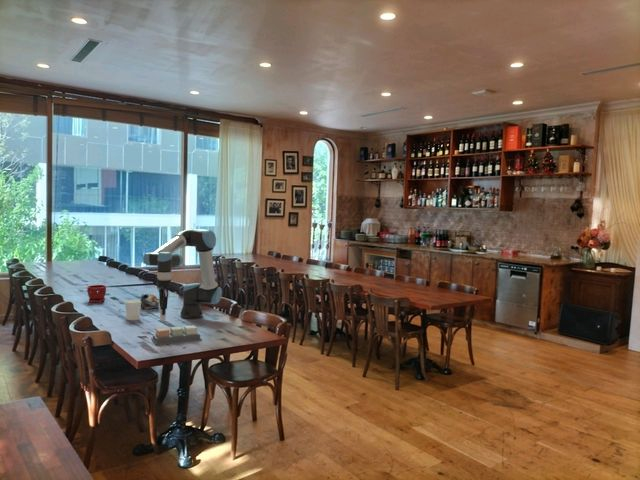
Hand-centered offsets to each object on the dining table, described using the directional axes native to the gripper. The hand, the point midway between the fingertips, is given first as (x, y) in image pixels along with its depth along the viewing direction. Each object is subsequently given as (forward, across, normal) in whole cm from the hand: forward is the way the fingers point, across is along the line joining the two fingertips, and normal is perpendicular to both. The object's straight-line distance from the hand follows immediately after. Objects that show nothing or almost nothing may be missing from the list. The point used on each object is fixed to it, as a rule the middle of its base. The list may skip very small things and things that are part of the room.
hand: (162, 320), depth 280 cm
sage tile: (+9, 0, +8) cm, 12 cm away
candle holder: (+12, -59, -6) cm, 61 cm away
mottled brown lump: (+12, -90, +12) cm, 91 cm away
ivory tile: (+9, 0, +16) cm, 19 cm away
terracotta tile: (+10, 0, 0) cm, 10 cm away
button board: (+12, 0, +8) cm, 15 cm away
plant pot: (+12, -125, -21) cm, 127 cm away
